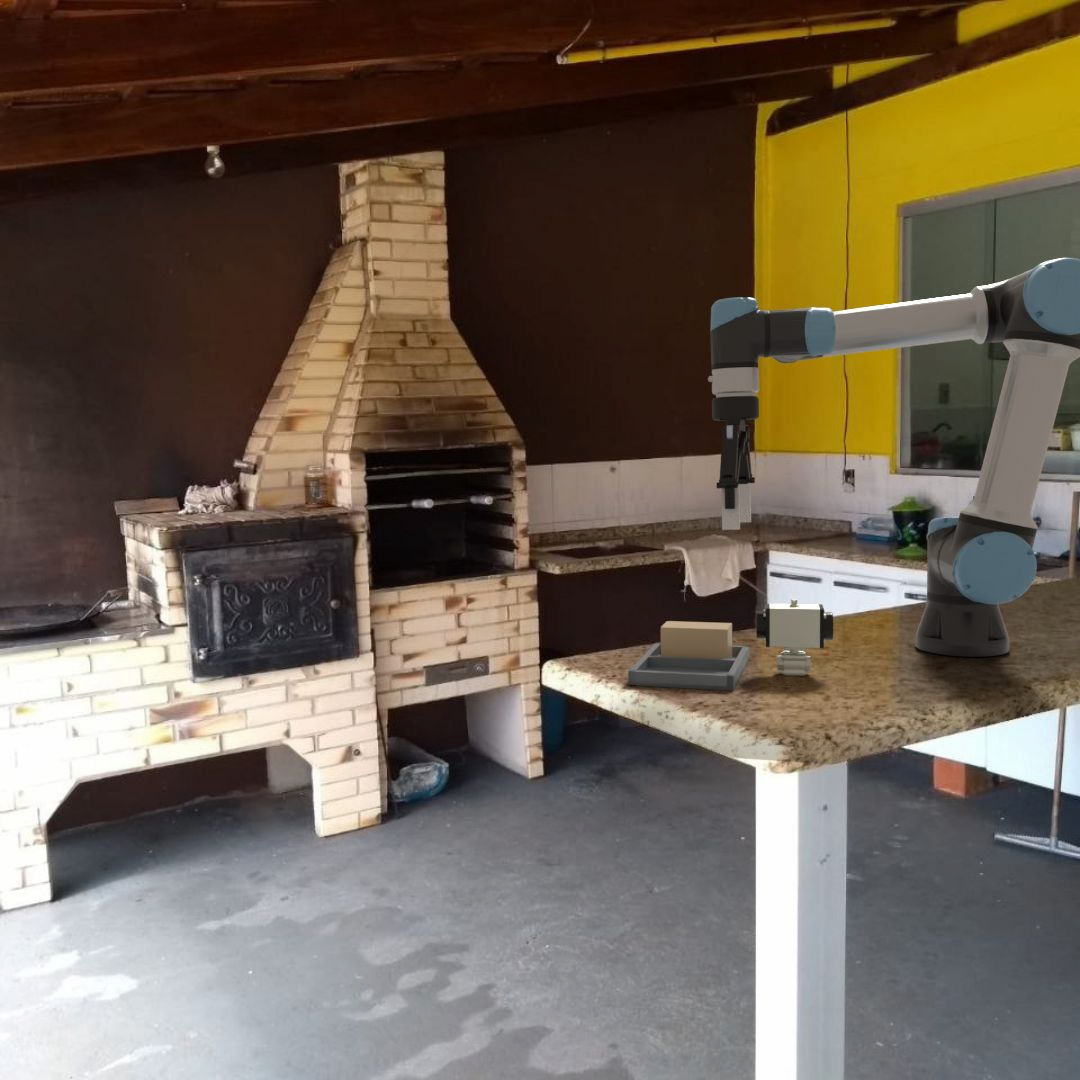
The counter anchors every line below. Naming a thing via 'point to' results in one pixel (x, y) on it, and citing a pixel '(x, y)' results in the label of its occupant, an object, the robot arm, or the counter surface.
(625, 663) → the counter surface
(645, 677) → the bay tray
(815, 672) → the counter surface
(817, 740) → the counter surface
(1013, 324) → the robot arm
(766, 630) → the pneumatic valve
